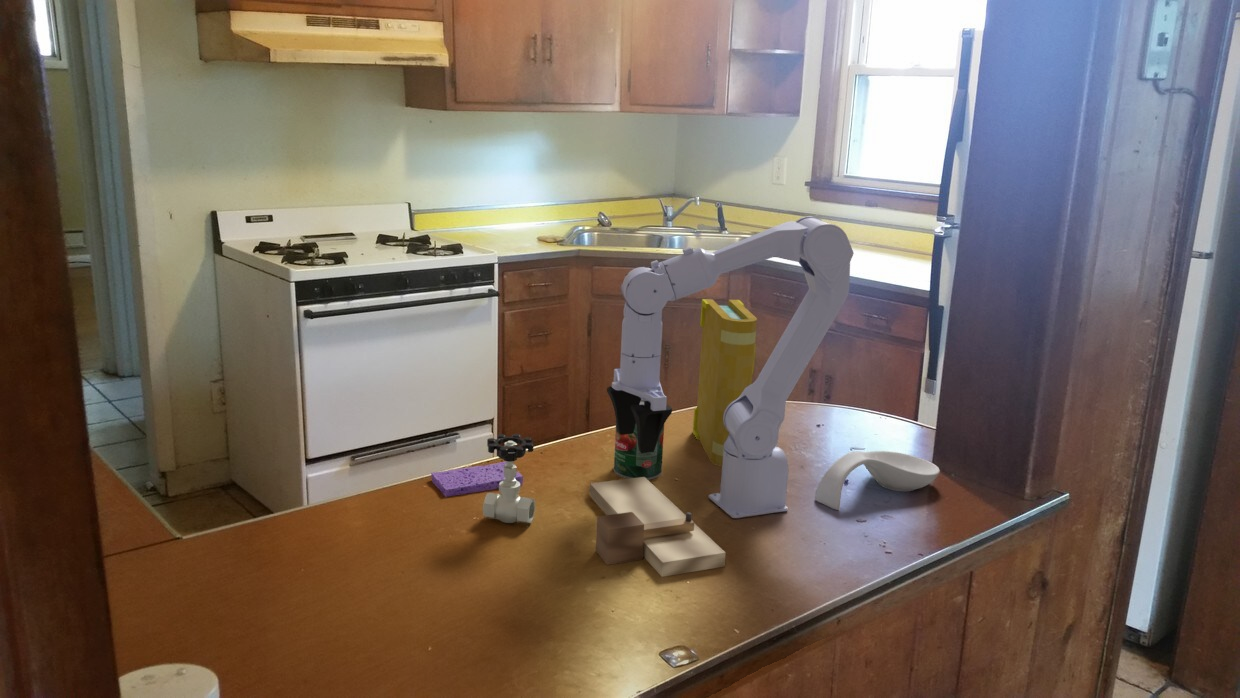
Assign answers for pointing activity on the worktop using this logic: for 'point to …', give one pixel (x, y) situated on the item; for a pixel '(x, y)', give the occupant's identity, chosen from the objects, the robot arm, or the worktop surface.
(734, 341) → the book
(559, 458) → the worktop surface
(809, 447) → the worktop surface
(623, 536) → the mallet
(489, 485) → the sponges
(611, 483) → the board
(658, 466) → the canned tomato
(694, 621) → the worktop surface
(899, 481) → the spoon rest
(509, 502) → the valve
